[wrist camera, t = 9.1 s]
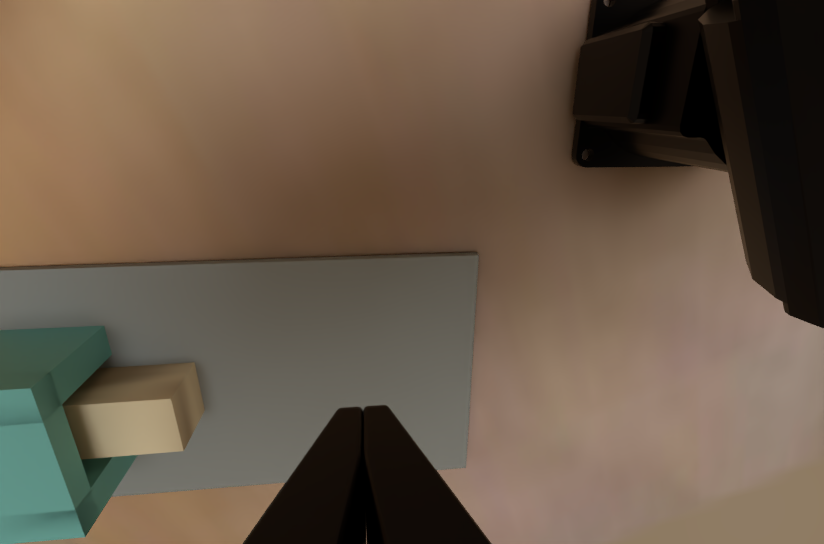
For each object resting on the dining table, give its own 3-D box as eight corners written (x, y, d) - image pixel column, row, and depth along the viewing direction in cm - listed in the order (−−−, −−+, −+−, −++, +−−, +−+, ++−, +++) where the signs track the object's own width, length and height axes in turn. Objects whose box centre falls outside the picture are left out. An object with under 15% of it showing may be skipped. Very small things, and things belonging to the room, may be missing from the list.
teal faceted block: (104, 325, 18) (30, 388, 14) (139, 452, 21) (85, 536, 17) (0, 330, 18) (-106, 396, 14) (48, 458, 20) (-29, 547, 16)
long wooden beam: (194, 362, 19) (170, 398, 17) (204, 410, 20) (183, 451, 18) (-26, 376, 19) (-84, 416, 16) (-5, 425, 20) (-57, 470, 17)
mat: (476, 252, 19) (478, 255, 19) (464, 461, 24) (465, 467, 23) (-14, 267, 17) (-22, 271, 17) (69, 493, 22) (64, 500, 21)
